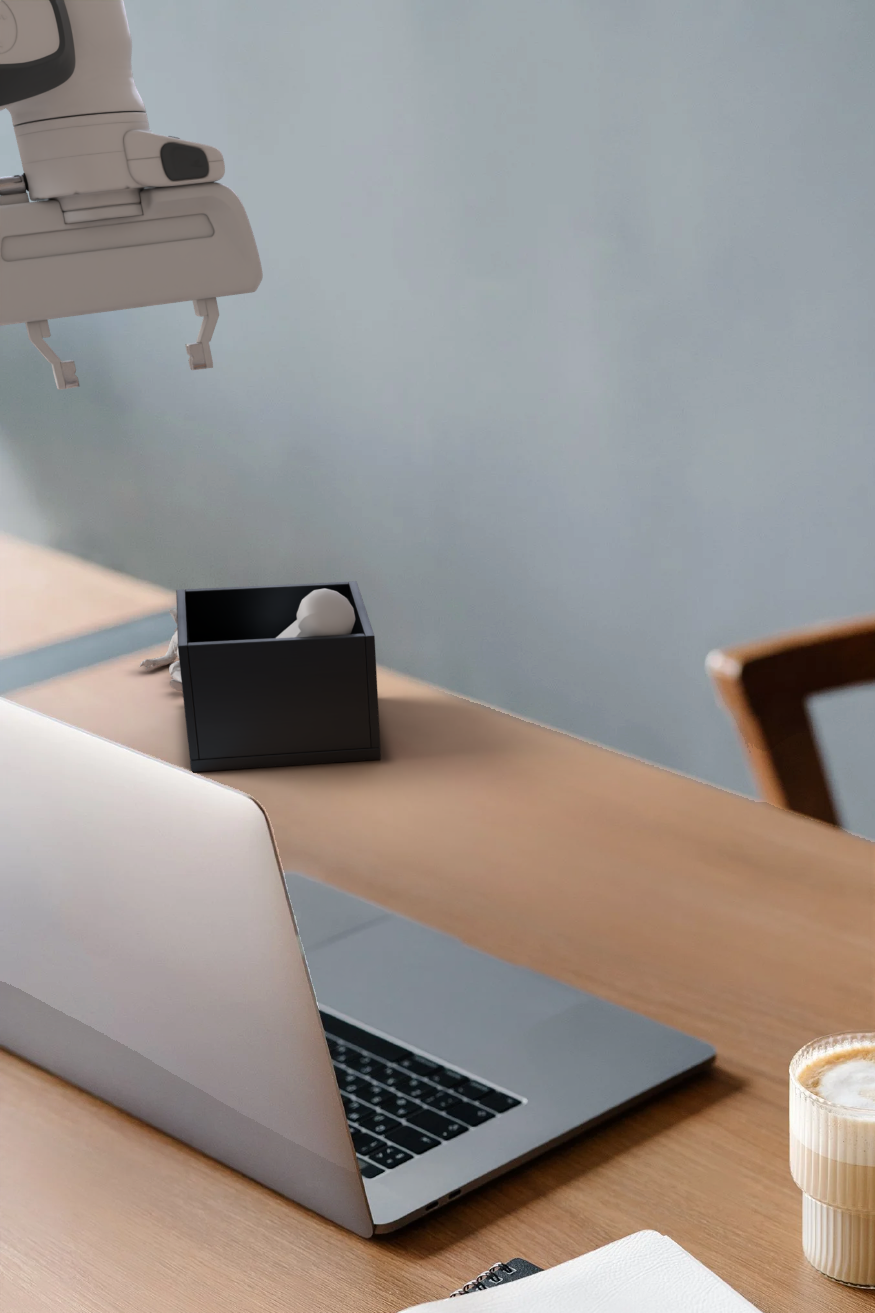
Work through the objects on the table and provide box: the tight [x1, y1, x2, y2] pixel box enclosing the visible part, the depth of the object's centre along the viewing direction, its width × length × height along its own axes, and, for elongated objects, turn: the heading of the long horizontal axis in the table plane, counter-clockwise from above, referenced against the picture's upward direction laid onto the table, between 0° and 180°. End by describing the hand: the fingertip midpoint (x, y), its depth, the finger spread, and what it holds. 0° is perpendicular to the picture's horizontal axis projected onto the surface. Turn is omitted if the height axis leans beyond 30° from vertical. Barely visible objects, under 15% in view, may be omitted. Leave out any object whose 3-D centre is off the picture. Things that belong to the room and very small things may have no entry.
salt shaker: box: [276, 588, 355, 638], centre depth 141 cm, size 6×6×13 cm
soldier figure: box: [138, 608, 183, 692], centre depth 156 cm, size 8×5×12 cm
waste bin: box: [175, 580, 382, 773], centre depth 142 cm, size 14×14×10 cm
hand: (136, 378), depth 128 cm, fingers open, 8 cm apart
